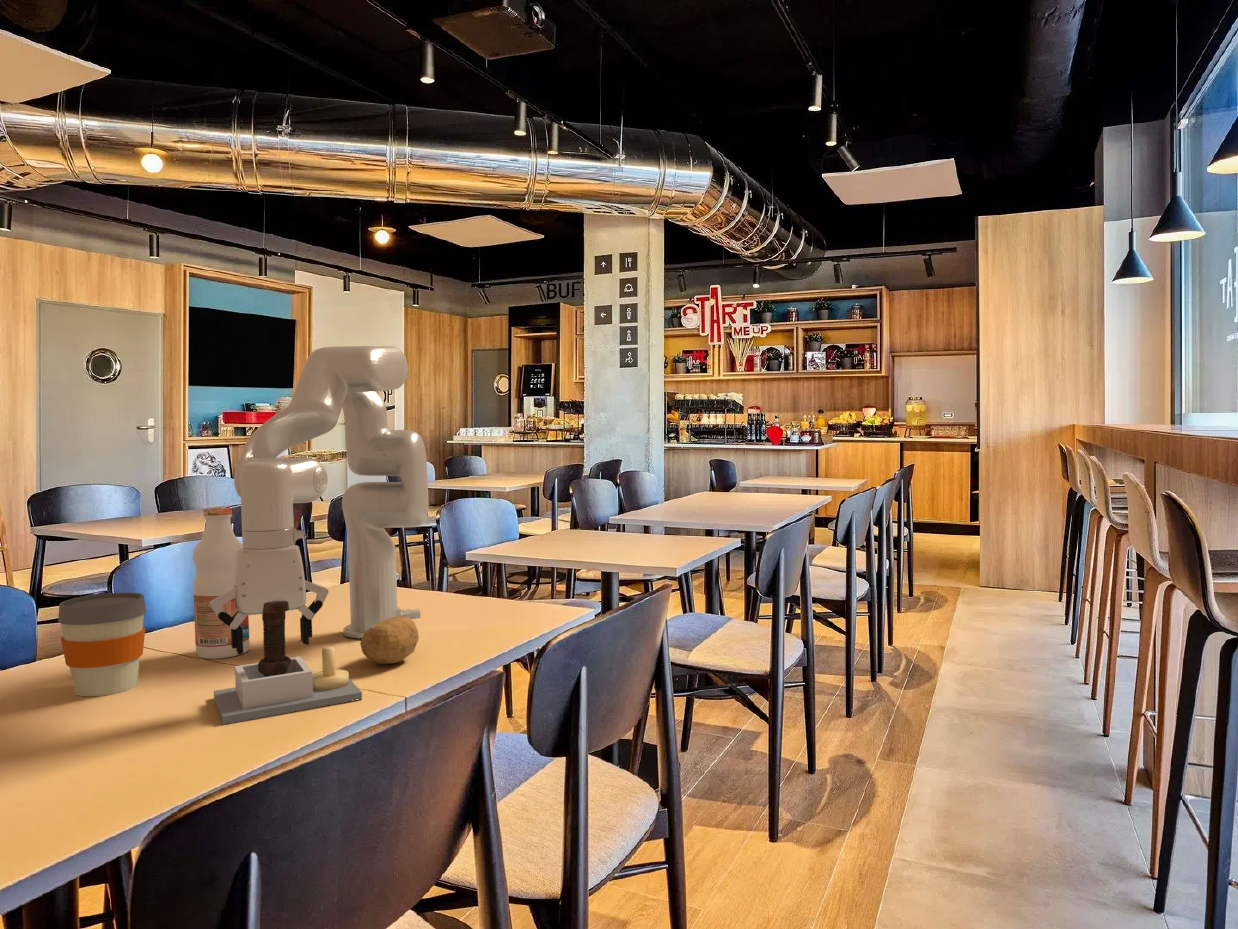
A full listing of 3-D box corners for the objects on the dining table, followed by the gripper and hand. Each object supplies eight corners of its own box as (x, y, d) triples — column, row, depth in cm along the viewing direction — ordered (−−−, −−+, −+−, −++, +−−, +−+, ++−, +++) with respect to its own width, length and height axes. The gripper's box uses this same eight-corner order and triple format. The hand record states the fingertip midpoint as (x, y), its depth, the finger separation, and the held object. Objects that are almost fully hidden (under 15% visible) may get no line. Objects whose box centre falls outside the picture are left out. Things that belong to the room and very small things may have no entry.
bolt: (265, 687, 134) (263, 595, 134) (297, 686, 135) (295, 595, 134) (252, 699, 129) (250, 603, 128) (286, 699, 129) (284, 603, 128)
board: (342, 677, 144) (340, 636, 143) (362, 699, 132) (360, 654, 131) (214, 698, 134) (212, 654, 133) (222, 724, 122) (221, 676, 121)
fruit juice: (193, 651, 162) (187, 508, 161) (245, 644, 167) (240, 505, 166) (199, 663, 154) (193, 512, 153) (253, 654, 159) (248, 508, 158)
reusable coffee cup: (85, 705, 131) (81, 611, 130) (46, 692, 138) (42, 603, 137) (164, 683, 142) (160, 596, 141) (125, 673, 148) (121, 589, 148)
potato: (430, 651, 160) (428, 610, 159) (403, 673, 146) (402, 628, 145) (381, 650, 161) (379, 609, 160) (350, 672, 147) (348, 627, 146)
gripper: (321, 532, 138) (324, 634, 139) (205, 542, 129) (210, 650, 130) (330, 538, 132) (334, 644, 133) (209, 548, 123) (214, 662, 124)
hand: (272, 647), depth 131 cm, fingers open, 9 cm apart
